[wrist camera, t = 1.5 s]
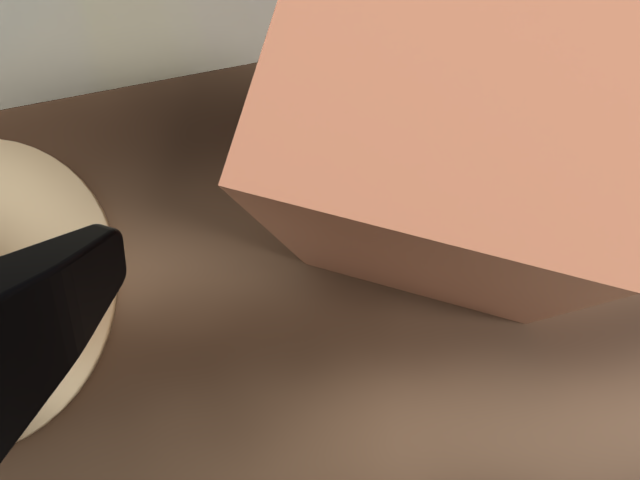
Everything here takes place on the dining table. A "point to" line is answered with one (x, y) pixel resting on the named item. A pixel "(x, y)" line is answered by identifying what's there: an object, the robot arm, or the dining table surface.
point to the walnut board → (282, 329)
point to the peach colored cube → (451, 148)
